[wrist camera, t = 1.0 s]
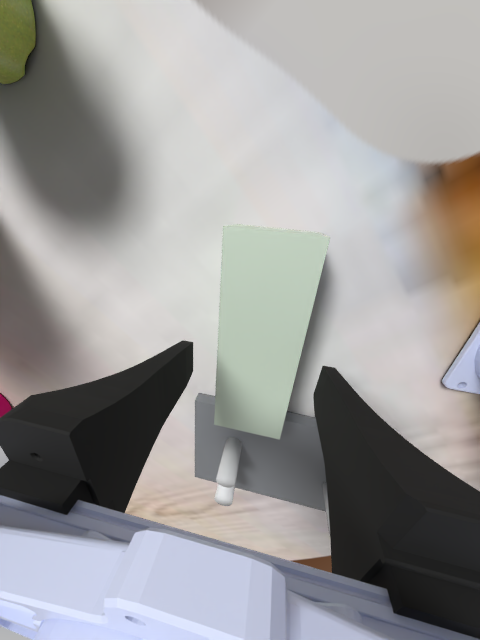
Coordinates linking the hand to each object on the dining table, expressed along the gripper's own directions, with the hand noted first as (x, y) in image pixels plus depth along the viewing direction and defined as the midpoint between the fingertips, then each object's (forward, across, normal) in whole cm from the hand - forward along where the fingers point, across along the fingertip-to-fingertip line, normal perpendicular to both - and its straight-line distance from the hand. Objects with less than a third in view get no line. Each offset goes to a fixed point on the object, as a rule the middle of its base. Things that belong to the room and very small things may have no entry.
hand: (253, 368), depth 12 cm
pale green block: (+5, 0, 0) cm, 5 cm away
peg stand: (+5, -4, +14) cm, 15 cm away
